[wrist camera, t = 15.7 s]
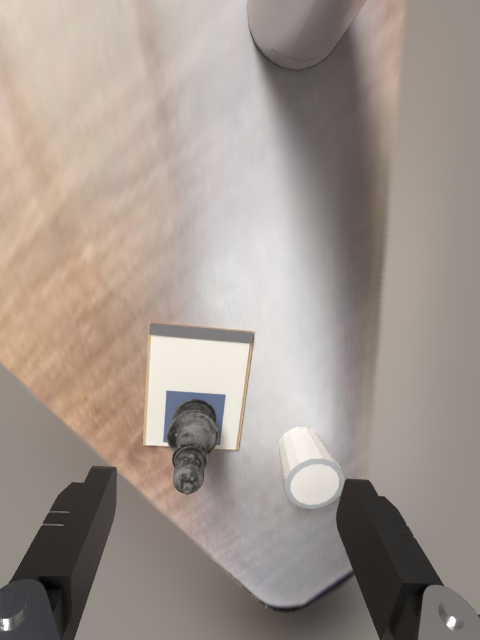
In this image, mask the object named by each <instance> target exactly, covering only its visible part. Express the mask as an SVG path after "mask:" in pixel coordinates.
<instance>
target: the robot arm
mask: <svg viewBox="0 0 480 640" xmlns="http://www.w3.org/2000/svg"><path fill="white" fill-rule="evenodd" d="M366 1H367V0H248V4H247V14H248V23H249V27H250V31H251V34H252V36H253V38H254V41H255V43H256V45H257V46H258V48H259V49H260V50H261V52H262V53H263V54H264V55H265V56H266V57H267V58H268V59H269V60H270V61H272V62H273V63H275V64H277V65H279V66H281V67H284V68H288V69H304V68H309V67H311V66H313V65H315V64H318V63H319V62H321V61H322V60H323V59H324V58H326V57H327V56H328V55H329V53H330V52H331V51H332V50H333V49H334V47H335V46H336V45H337V43H338V42H339V40H340V39H341V37H342V36H343V34H344V33H345V31H346V30H347V28H348V27H349V26H350V24H351V23H352V21H353V20H354V18H355V17H356V16H357V14H358V13H359V11H360V10H361V8H362V7H363V5H364V4H365V2H366ZM116 477H117V469H116V467H105V466H92V468H91V469H90V471H89V473H88V475H87V477H86V480H85V482H84V483H75V482H72V483H71V484H70V485H69V486H68V487H67V488H65V489H64V490H63V491H62V492H61V493H60V494H59V495H58V497H57V498H56V500H55V502H54V504H53V506H52V508H51V509H50V512H49V513H48V515H47V516H46V518H45V520H44V522H43V525H42V526H41V527H40V529H39V531H38V533H37V535H36V536H35V538H34V540H33V542H32V543H31V545H30V547H29V549H28V551H27V553H26V554H25V556H24V558H23V560H22V561H21V563H20V565H19V567H18V569H17V570H16V572H15V574H14V576H13V577H12V579H11V581H10V582H9V583H8V584H7V585H5V586H3V587H2V588H0V640H74V638H75V635H76V632H77V629H78V626H79V623H80V620H81V617H82V614H83V611H84V608H85V605H86V602H87V599H88V596H89V593H90V590H91V587H92V584H93V581H94V578H95V574H96V572H97V569H98V566H99V563H100V560H101V556H102V554H103V551H104V548H105V545H106V541H107V538H108V535H109V532H110V529H111V526H112V523H113V520H114V515H115V509H116V481H117V478H116ZM336 521H337V528H338V531H339V534H340V537H341V539H342V542H343V545H344V547H345V550H346V553H347V555H348V558H349V560H350V563H351V566H352V568H353V571H354V573H355V576H356V579H357V581H358V584H359V587H360V589H361V592H362V594H363V597H364V600H365V602H366V605H367V607H368V610H369V613H370V615H371V618H372V620H373V623H374V626H375V628H376V631H377V634H378V636H379V639H380V640H480V615H478V614H477V613H476V611H475V610H474V608H473V607H472V606H471V605H470V604H469V603H468V602H467V601H466V600H465V599H464V598H463V597H462V596H461V595H459V594H458V593H456V592H455V591H453V590H451V589H449V588H447V587H445V586H444V585H443V583H442V582H441V580H440V578H439V576H438V575H437V573H436V572H435V570H434V569H433V567H432V565H431V563H430V562H429V560H428V558H427V557H426V555H425V554H424V552H423V550H422V549H421V547H420V545H419V544H418V542H417V540H416V539H415V538H414V537H413V534H412V532H411V531H410V529H409V527H408V526H406V522H405V521H404V519H403V517H402V516H401V514H400V512H399V511H398V510H397V508H396V507H395V506H394V505H393V504H392V503H391V502H389V500H387V499H386V498H385V497H383V496H378V494H377V493H376V491H375V489H374V487H373V485H372V484H371V482H370V481H369V480H362V479H346V480H345V482H344V486H343V490H342V494H341V497H340V501H339V505H338V509H337V514H336Z"/></svg>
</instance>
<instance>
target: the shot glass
mask: <svg viewBox="0 0 480 640" xmlns="http://www.w3.org/2000/svg"><path fill="white" fill-rule="evenodd" d="M279 455H280V462H281V469H282V476H283V483H284V490H285V493H286V495H287V497H288V499H289V500H290V501H291V502H292V503H293V504H295V505H296V506H298V507H301V508H305V509H319V508H321V507H324V506H327V505H329V504H331V503H332V502H333V501H334V500H335V499H337V498H338V497H339V495H340V494H341V492H342V490H343V486H344V482H345V477H344V474H343V472H342V469H341V467H340V466H339V464H338V463H337V462H336V460H335V459H334V457H333V456H332V454H331V453H330V451H329V450H328V448H327V447H326V445H325V444H324V442H323V441H322V439H321V438H320V436H319V435H318V434H317V433H316V432H315V431H314V430H313V429H310V428H307V427H296V428H293V429H291V430H289V431H287V432H286V433H285V434H284V435H283V436H282V438H281V440H280V442H279Z"/></svg>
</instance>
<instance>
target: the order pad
mask: <svg viewBox="0 0 480 640" xmlns="http://www.w3.org/2000/svg"><path fill="white" fill-rule="evenodd" d="M253 338H254V331H245V330H234V329H223V328H212V327H201V326H190V325H178V324H167V323H156V322H149V324H148V345H147V367H146V388H145V410H144V431H143V446H161V447H169V445H168V443H167V440H166V432H167V428H168V426H169V424H170V423H171V422H172V421H173V420H172V417H173V412H174V410H175V408H176V407H177V406H178V405H179V404H180V403H182V402H183V401H186V400H189V399H200V400H203V401H206V402H207V403H209V404H210V405H211V406H212V407H213V409H214V410H215V413H216V425H217V427H218V430H219V440H218V443H217V445H216V447H215V448H214V449H219V450H239V442H240V435H241V427H242V420H243V413H244V405H245V398H246V390H247V383H248V375H249V368H250V360H251V353H252V345H253Z"/></svg>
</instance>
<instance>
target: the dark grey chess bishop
mask: <svg viewBox="0 0 480 640" xmlns="http://www.w3.org/2000/svg"><path fill="white" fill-rule="evenodd" d="M172 420H173V421H172V422H171V423H170V424H169V426H168V428H167V432H166V440H167V443H168V445H169V447H170V448H171V449H172V451H173V452H174V454H173V458H172V461H173V465H174V467H175V469H174V475H173V484H174V486H175V488H176V489H177V490H178V491H179V492H181V493H184V494H186V495H188V494H191V493H194V492H195V491H197V490H198V489H199V488H200V487H201V486H202V484H203V480H204V468H205V467H206V465H207V463H208V454H209V453H210V452H211V451H212V450H213V449H214V448H215V447H216V445H217V443H218V440H219V430H218V427H217V425H216V413H215V410H214V409H213V407H212V406H211V405H210V404H209V403H207V402H206V401H203V400H200V399H189V400H186V401H183V402H182V403H180V404H179V405H178V406H177V407H176V408H175V410H174V412H173V417H172Z"/></svg>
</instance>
